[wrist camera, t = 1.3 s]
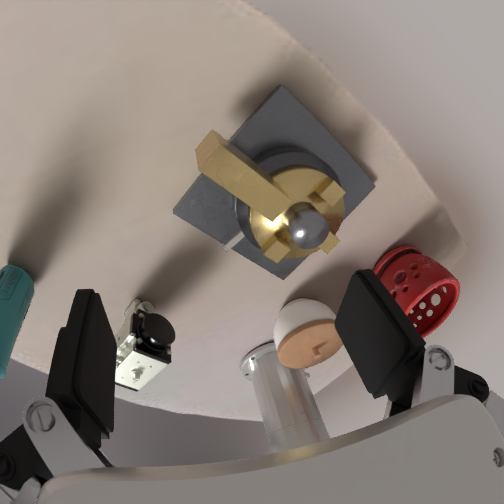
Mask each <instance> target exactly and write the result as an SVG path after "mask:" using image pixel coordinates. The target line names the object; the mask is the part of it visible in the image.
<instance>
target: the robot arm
mask: <svg viewBox="0 0 504 504" xmlns="http://www.w3.org/2000/svg"><path fill="white" fill-rule="evenodd" d="M334 325H335V329H336V331H337V333H338V335H339V337H340V338H341V340H342V342H343V344H344V346H345V348H346V350H347V352H348V354H349V356H350V358H351V360H352V361H353V363H354V365H355V367H356V369H357V371H358V373H359V375H360V377H361V379H362V381H363V383H364V385H365V387H366V389H367V391H368V392H369V393H372V395H373V397H374V399H376V398H379V397H381V396H384V395H385V394H387V396H388V403H387V407H386V411H385V415H384V419H383V420H382V421H379V422H377V423H374V424H372V425H369V426H366V427H364V428H361V429H358V430H355V431H352V432H350V433H347V434H344V435H340V436H337V437H334V438H331V439H330V436H329V434H328V432H327V429H326V427H325V424H324V422H323V420H322V417H321V415H320V412H319V409H318V407H317V405H316V402H315V399H314V397H313V394H312V392H311V389H310V387H309V384H308V382H307V379H308V378H309V377H310V374H309V373H306V372H304V370H303V368H289V367H286V366H284V365H283V364H282V363H281V362H280V361H279V358H278V355H277V350H276V347H275V343H274V342H273V343H269V344H266V345H263V346H261V347H258V348H256V349H255V350H253V351H251V352H250V353H249V354H248V355H247V356H246V357H245V358H244V359H243V361H242V362H241V372H242V375H243V376H244V377H245V378H246V379H248V380H251V381H252V382H253V385H254V389H255V393H256V396H257V400H258V404H259V407H260V411H261V414H262V418H263V422H264V425H265V428H266V432H267V436H268V439H269V442H270V446H271V448H272V450H273V451H274V452H275V453H273V454H268V455H263V456H258V457H252V458H246V459H240V460H233V461H227V462H218V463H209V464H199V465H186V466H170V467H169V466H168V467H115V465H114V464H113V463H112V462H111V461H110V460H109V459H108V458H107V456H106V455H105V454H104V453H103V452H102V450H101V449H100V447H101V439H109V432H113V429H114V393H115V374H116V360H117V343H116V340H115V337H114V335H113V332H112V329H111V327H110V324H109V321H108V318H107V315H106V313H105V310H104V307H103V304H102V301H101V298H100V295H99V293H95V292H94V290H93V289H78V290H77V291H76V294H75V297H74V300H73V304H72V307H71V311H70V314H69V318H68V321H67V325H66V327H62V328H61V329H60V331H59V334H58V338H57V341H56V346H55V350H54V354H53V358H52V363H51V368H50V372H49V378H48V383H47V389H46V394H45V397H43V396H41V397H35V398H33V399H31V400H30V401H29V402H28V403H27V404H26V406H25V408H24V410H23V414H22V421H23V424H22V425H21V426H19V427H18V428H17V429H16V430H15V431H13V432H12V433H11V434H10V435H9V436H7V437H6V438H5V439H4V440H3V441H1V442H0V504H34V503H35V500H36V499H37V498H38V502H37V504H504V400H503V399H502V398H501V397H500V396H498V395H497V394H496V393H494V392H493V391H492V390H491V391H490V392H489V387H488V384H487V383H486V381H485V380H484V379H483V378H482V377H481V376H479V375H477V374H475V373H472V372H470V371H467V370H465V369H463V368H460V367H458V366H455V365H454V360H453V357H452V355H451V354H450V352H449V351H448V350H447V349H445V348H444V347H442V346H439V345H431V346H429V347H428V348H427V349H425V347H424V346H425V344H426V342H425V341H424V339H423V338H422V337H421V335H420V334H419V332H418V331H417V329H416V328H415V327H414V325H413V324H412V322H411V321H410V319H409V318H408V317H407V315H406V314H405V313H404V311H403V310H402V308H401V307H400V306H399V304H398V303H397V302H396V300H395V299H394V298H393V296H392V295H391V294H390V292H389V291H388V290H387V288H386V287H385V286H384V285H383V283H382V282H381V281H380V279H379V278H378V277H377V276H376V274H375V273H374V272H373V271H372V270H371V269H365V270H357V271H356V272H355V274H354V275H352V277H351V280H350V283H349V285H348V288H347V291H346V293H345V296H344V298H343V301H342V304H341V306H340V309H339V311H338V314H337V316H336V319H335V322H334Z"/></svg>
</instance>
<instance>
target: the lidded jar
mask: <svg viewBox="0 0 504 504" xmlns="http://www.w3.org/2000/svg"><path fill="white" fill-rule="evenodd" d="M335 319H336V315H335V314H334V312H333V311H332V310H331V309H330V308H329V307H328V306H326V305H325V304H324V303H322V302H319V301H317V300H312V299H307V298H300V299H296V300H293V301H291V302H289V303H288V304H286V305H285V306H284V307H283V308H282V310H281V312H280V314H279V315H278V317H277V319H276V321H275V324H274V330H273V336H274V343H275V347H276V350H277V355H278V358H279V361H280V362H281V363H282V364H283V365H284V366H286V367H289V368H306V367H310V366H313V365H316V364H319V363H321V362H323V361H325V360H326V359H328V358H330V357H331V356H332V355H334V354H335V353H336V352H337V351H338V350H339V349H340V348H341V346H342V345H343V342H342V340H341V338H340V337H339V335H338V333H337V331H336V329H335V325H334V322H335Z"/></svg>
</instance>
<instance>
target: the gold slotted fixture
mask: <svg viewBox="0 0 504 504" xmlns="http://www.w3.org/2000/svg"><path fill="white" fill-rule="evenodd" d="M195 151H196V157H197V163H198V169H199V171H200V172H202V173H203V174H205V175H206V176H208V177H209V178H210V179H212V180H213V181H215V182H216V183H218V184H219V185H220V186H222V187H223V188H225V189H226V190H228V191H229V192H230V193H232V194H233V195H235V196H236V197H237V198H239V199H240V200H242V201H243V202H244V203H246V204H247V205H248V221H249V225H250V228H251V230H252V232H253V234H254V237H255V239H256V241H257V242H258V244H259V245H260V246H261V250H262V252H263V255H265V256H266V257H268V258H270V259H271V260H273V261H274V262H276V263H278V262H279V261H280V260H281V259H282V258H287V259H291V258H300V257H304V256H307V255H310V254H312V253H314V252H316V251H318V250H319V249H322V250H323V251H324V252H325V253H327V254H328V253H329V252H330V251H331V250H332V249H333V248H334V247H335V246H336V245H337V244H338V243H339V242H340V240H339V239H338V238H337V236H336V235H335V234H336V232H337V231H338V229H339V227H340V225H341V223H342V219H343V215H344V199H343V195H344V194H345V193H346V192H345V191H344V190H343V189H342V188H341V187H340V186H339V185H338V184H337V183H336V182H335V181H334V180H333V179H332V178H331V177H329V176H327V175H326V174H325V173H323V172H322V171H321V170H319V169H317V168H315V167H313V166H309V165H303V164H294V165H288V166H284V167H281V168H279V169H277V170H275V171H273V172H271V173H270V174H269V173H268V172H267V171H265V170H264V169H263V168H262V167H260V166H259V165H258V164H257V163H255V162H254V161H253V160H252V159H250V158H249V157H248V156H247V155H245V154H244V153H243V152H241V151H240V150H239V149H238V148H236V147H235V146H234V145H232V144H231V143H230V142H228V141H227V140H226V139H224V138H223V137H222V136H221V135H219V134H218V133H217V132H215V131H214V130H211V131H210V132H209V134H208V135H207V136H206V137H205V139H204V140H203V141H202V142H201V143H200V145H199V146H198V147H197V148H196V150H195Z"/></svg>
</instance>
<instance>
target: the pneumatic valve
mask: <svg viewBox="0 0 504 504" xmlns="http://www.w3.org/2000/svg"><path fill="white" fill-rule="evenodd" d="M154 312H155V308H154V307H153V305H152V304H151V303H149V302H147V301H143V302H142V303H141V302H140V300H139V299H135V300H134V301H133V302H132V304H131V305H130V306H129V307H128V309H127V310H126V311H125V313H124V314H125V323H124V324H123V326H122V328H121V329H120V330H119V331H118V333H117V334H116V335H115V340H116V343H117V360H116V374H115V384H116V385H119V386H122V387H125V388H127V389H130V390H133V391H138V390H140V389H141V388H142V387H143V386H144V385H145V384H147V383H148V382H149V381H150V380H151V379H152V378H153V377H155V376H156V375H157V374H158V373H159V372H160V371H161V370H163V369H164V368H165V367H166V366H167V365H168V364H169V363H171V344H172V343H173V342H174V340H175V331H174V328H173V327H172V325H171V324H170V322H169V321H168V320H167V319H166V318H164V317H163V316H161V315H159V314H156V313H154Z"/></svg>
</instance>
